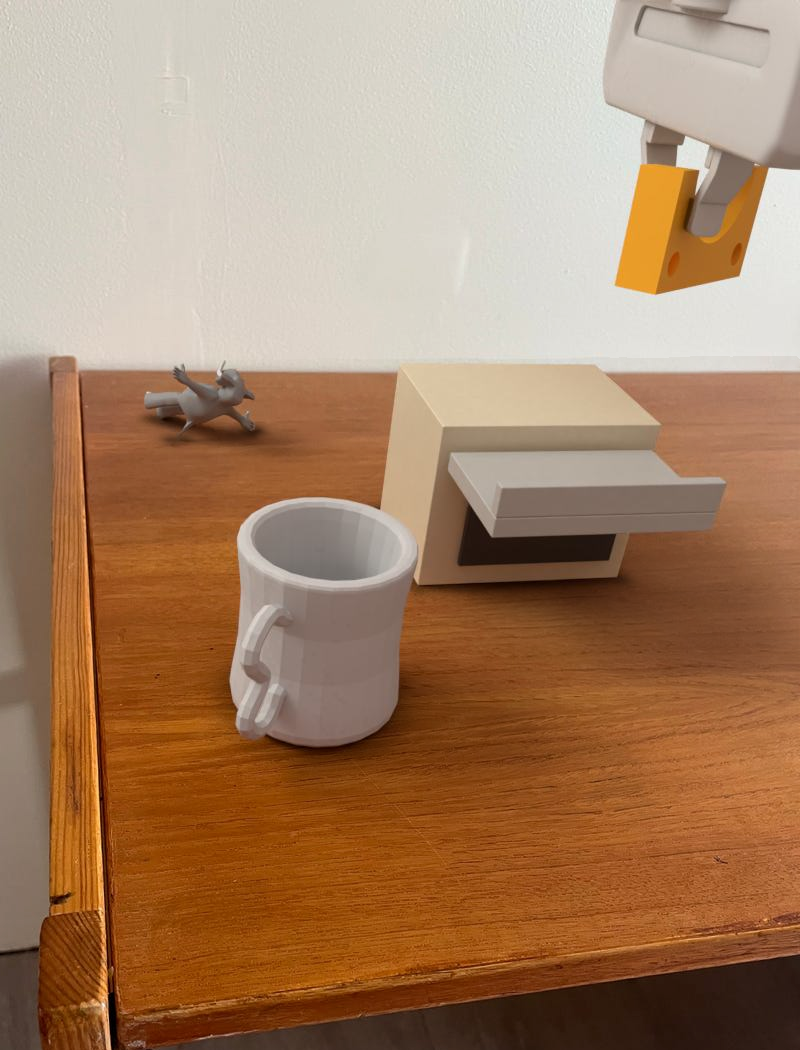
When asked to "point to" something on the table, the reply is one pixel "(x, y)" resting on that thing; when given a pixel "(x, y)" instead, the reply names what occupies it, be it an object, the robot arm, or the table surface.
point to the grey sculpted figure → (203, 399)
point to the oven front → (529, 473)
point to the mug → (320, 620)
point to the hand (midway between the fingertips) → (674, 221)
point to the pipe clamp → (682, 233)
